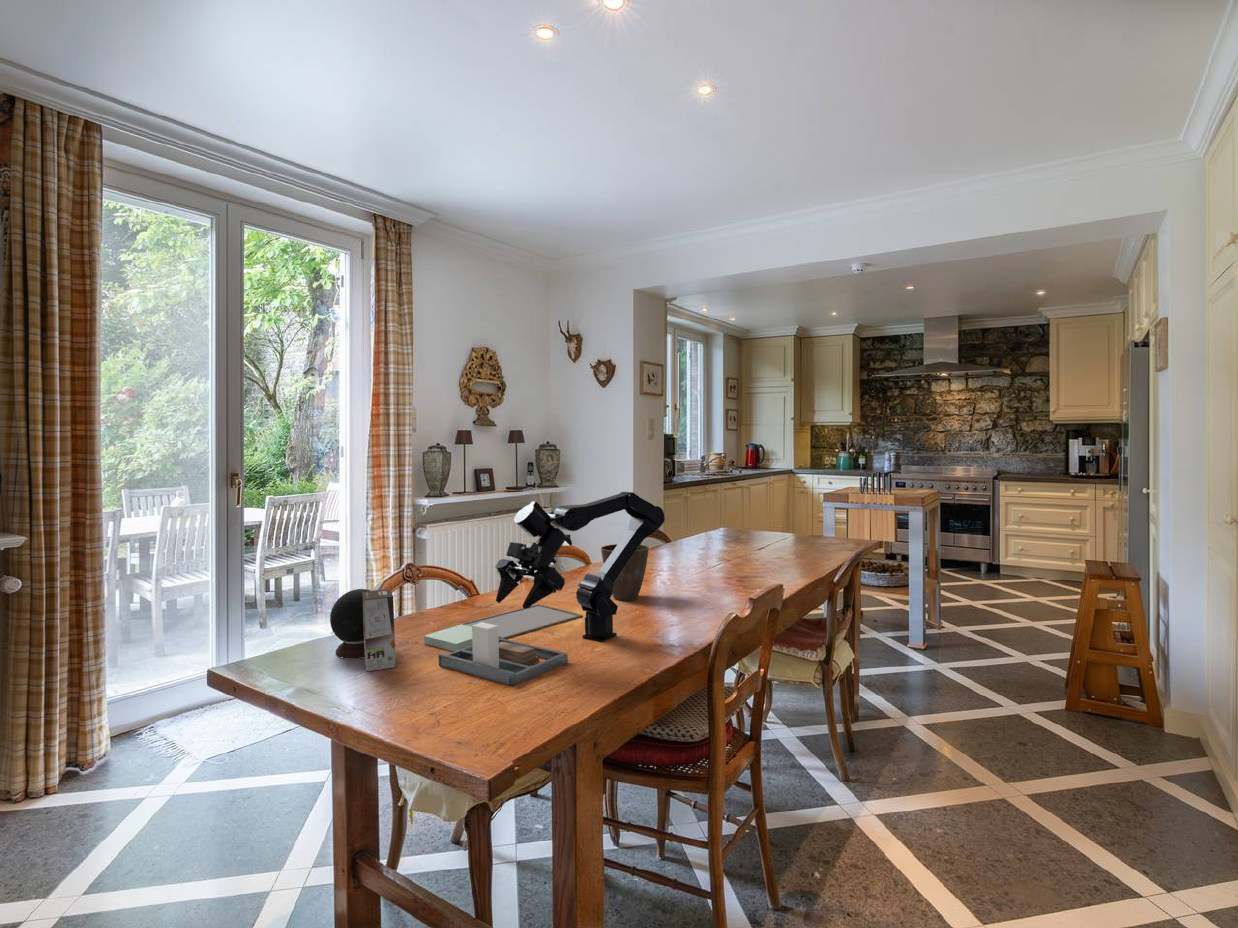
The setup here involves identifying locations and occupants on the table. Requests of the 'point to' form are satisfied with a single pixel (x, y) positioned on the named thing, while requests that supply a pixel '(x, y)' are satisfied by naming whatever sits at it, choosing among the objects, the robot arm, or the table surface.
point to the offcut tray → (503, 664)
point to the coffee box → (379, 629)
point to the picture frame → (525, 620)
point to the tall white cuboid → (485, 644)
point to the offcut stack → (517, 653)
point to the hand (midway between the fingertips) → (510, 604)
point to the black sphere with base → (349, 624)
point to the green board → (451, 638)
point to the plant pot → (628, 573)
